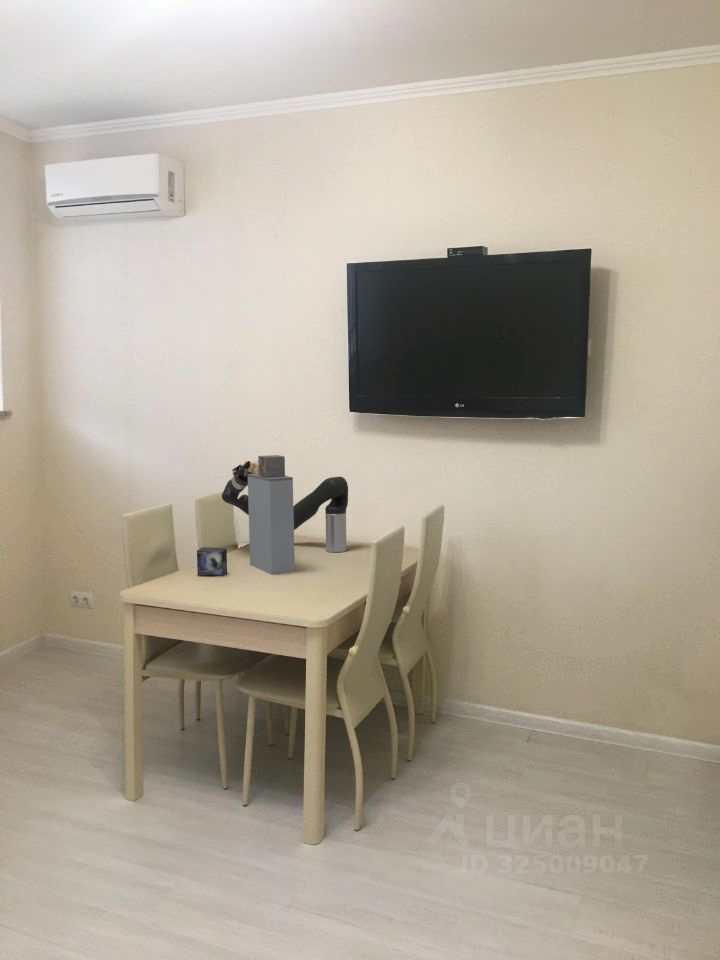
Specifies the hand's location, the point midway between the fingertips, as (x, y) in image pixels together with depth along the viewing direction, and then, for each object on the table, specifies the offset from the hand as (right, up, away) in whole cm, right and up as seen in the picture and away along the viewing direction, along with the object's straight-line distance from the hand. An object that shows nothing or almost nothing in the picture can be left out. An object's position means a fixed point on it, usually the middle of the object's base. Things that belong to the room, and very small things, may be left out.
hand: (254, 462), depth 342 cm
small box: (-14, -45, -19) cm, 51 cm away
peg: (+4, -5, -7) cm, 9 cm away
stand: (+8, -43, -9) cm, 45 cm away
